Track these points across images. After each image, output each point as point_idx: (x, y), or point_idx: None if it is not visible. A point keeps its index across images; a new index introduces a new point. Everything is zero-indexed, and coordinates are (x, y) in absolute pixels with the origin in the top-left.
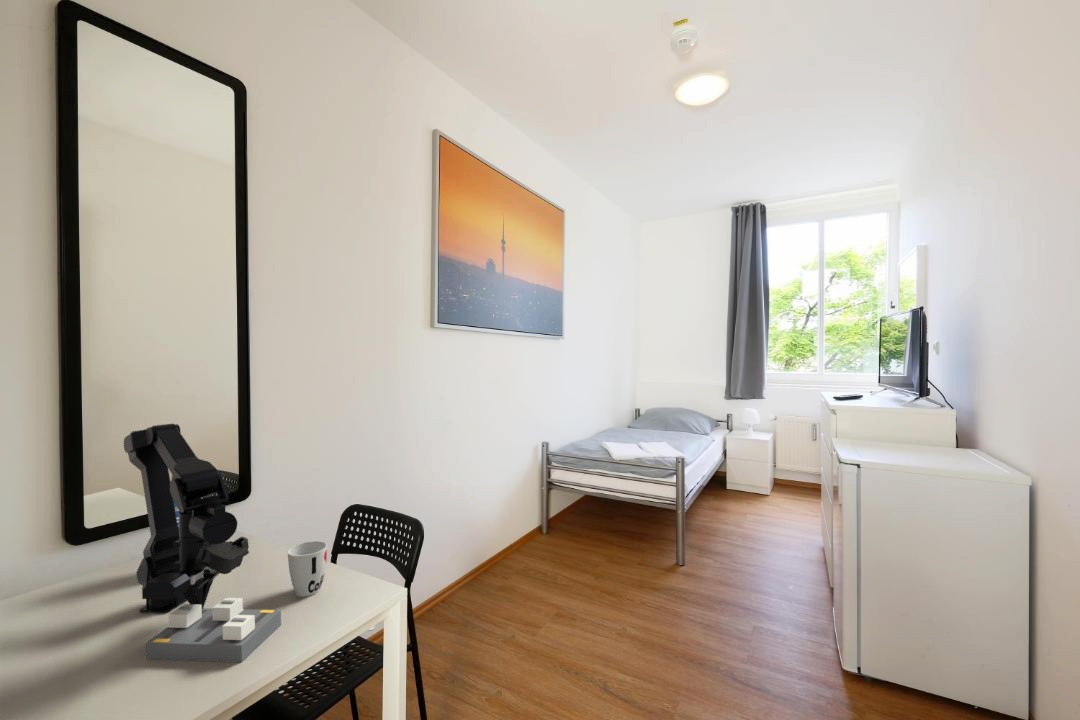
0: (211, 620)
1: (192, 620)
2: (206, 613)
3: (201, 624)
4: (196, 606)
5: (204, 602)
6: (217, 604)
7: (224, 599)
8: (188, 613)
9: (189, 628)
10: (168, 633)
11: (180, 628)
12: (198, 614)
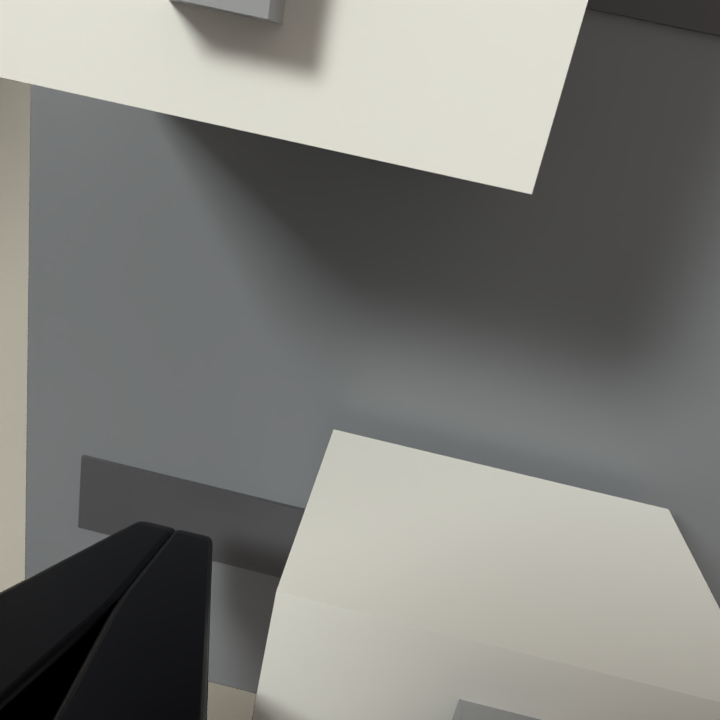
0: (432, 207)
1: (551, 513)
2: (176, 419)
3: (545, 327)
4: (361, 660)
5: (74, 574)
6: (344, 118)
7: (17, 46)
8: (714, 699)
9: (628, 467)
10: None
11: None
12: (401, 497)
